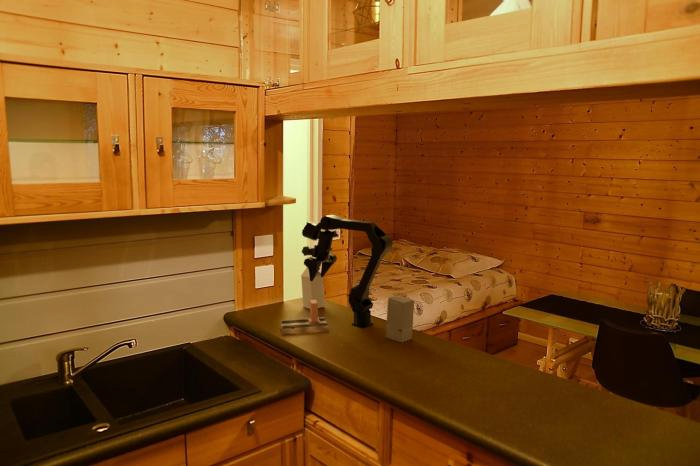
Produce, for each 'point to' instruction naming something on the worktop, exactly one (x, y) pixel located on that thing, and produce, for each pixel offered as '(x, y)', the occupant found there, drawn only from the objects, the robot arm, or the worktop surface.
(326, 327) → the slider board
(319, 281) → the milk carton
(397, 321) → the skincare box
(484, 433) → the worktop surface
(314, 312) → the fader tab
